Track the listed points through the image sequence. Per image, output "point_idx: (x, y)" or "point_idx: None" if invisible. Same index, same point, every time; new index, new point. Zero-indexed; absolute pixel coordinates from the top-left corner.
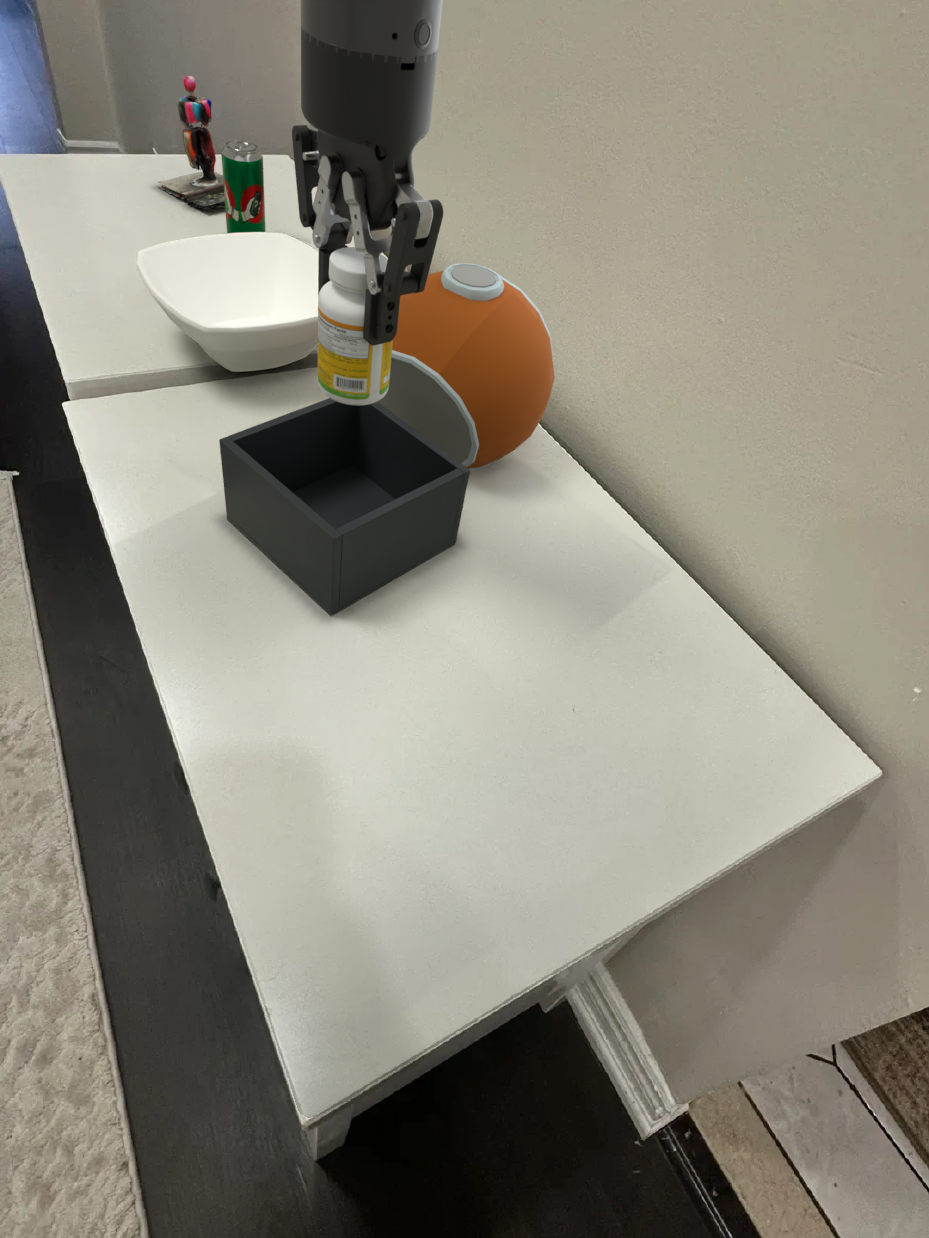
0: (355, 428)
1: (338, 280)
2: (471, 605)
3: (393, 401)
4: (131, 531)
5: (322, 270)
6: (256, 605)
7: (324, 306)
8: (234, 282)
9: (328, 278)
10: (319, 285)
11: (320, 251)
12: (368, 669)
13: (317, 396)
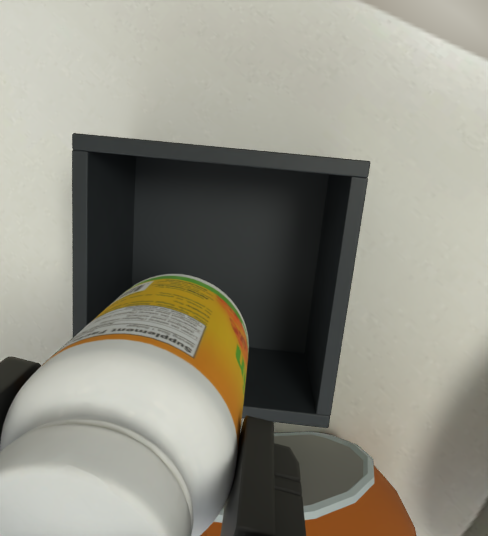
0: (308, 382)
1: (64, 432)
2: (41, 276)
3: (310, 463)
4: (410, 49)
5: (249, 478)
6: (198, 86)
7: (134, 354)
8: None
9: (238, 473)
10: (268, 444)
11: (260, 530)
12: (41, 115)
13: (451, 428)
